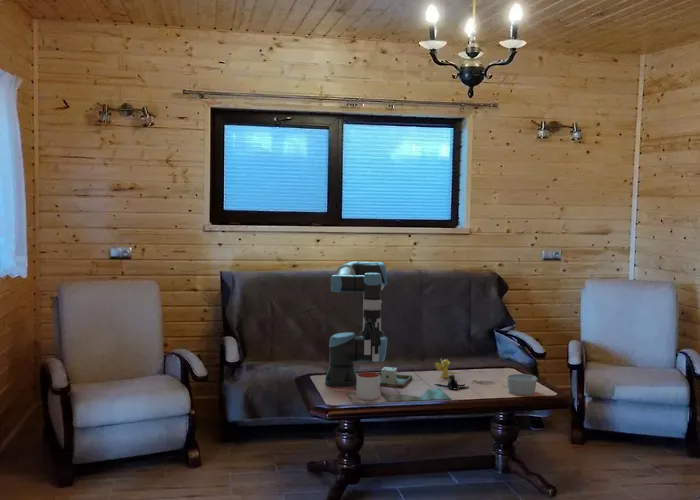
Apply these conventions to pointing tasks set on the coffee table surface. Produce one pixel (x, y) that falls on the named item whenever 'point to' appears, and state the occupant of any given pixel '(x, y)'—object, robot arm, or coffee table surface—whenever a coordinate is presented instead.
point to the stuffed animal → (453, 384)
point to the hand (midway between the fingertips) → (371, 358)
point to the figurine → (444, 368)
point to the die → (389, 375)
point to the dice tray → (400, 383)
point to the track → (408, 397)
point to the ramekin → (521, 384)
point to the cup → (368, 386)
